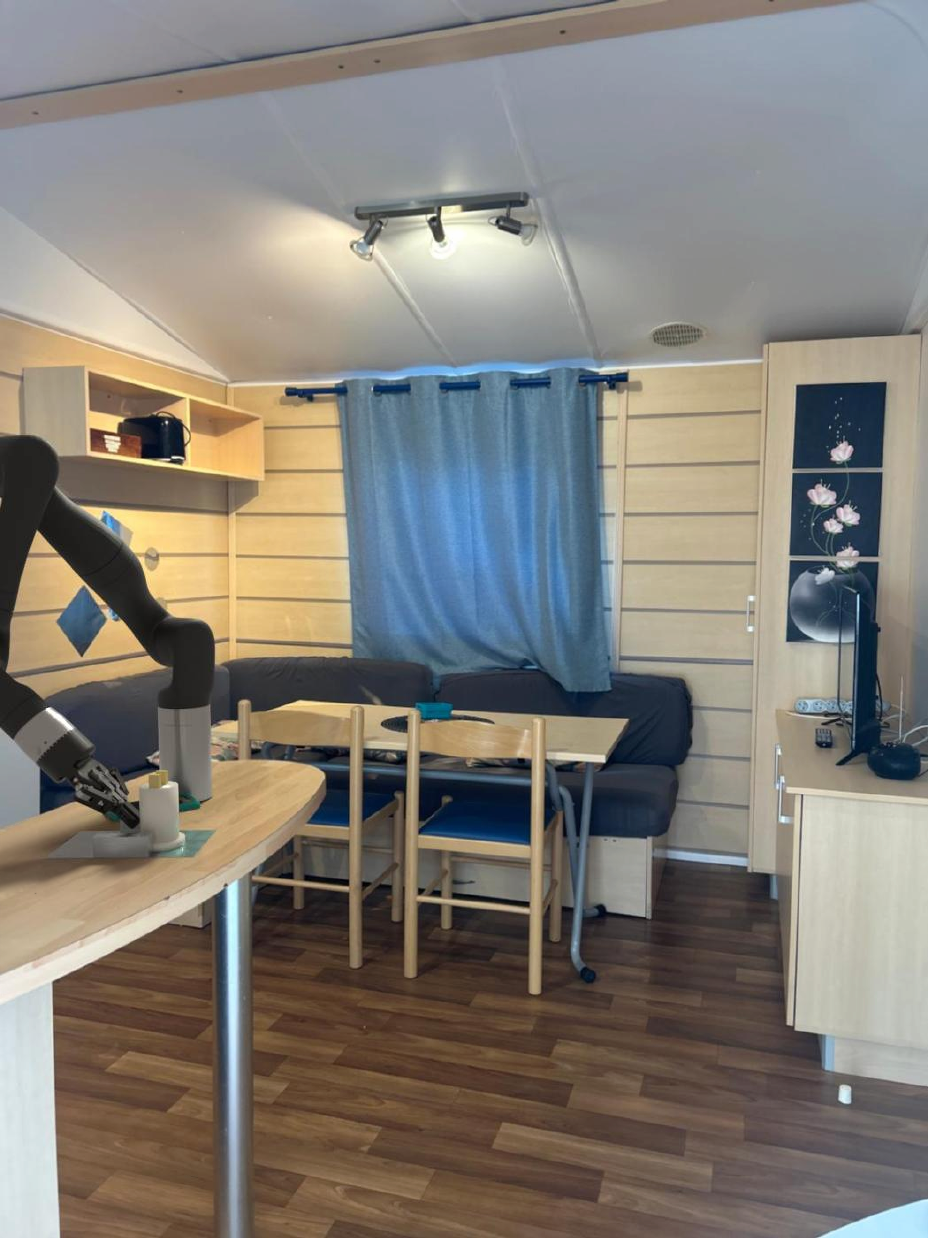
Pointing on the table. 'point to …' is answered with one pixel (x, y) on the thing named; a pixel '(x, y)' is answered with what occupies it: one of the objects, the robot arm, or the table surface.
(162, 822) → the plug
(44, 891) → the table surface
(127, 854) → the housing
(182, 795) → the digital multimeter
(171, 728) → the robot arm
